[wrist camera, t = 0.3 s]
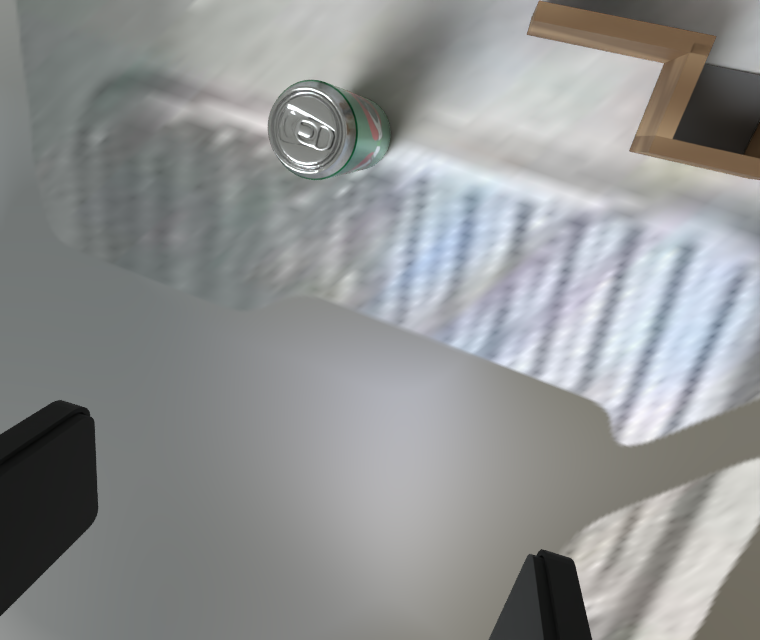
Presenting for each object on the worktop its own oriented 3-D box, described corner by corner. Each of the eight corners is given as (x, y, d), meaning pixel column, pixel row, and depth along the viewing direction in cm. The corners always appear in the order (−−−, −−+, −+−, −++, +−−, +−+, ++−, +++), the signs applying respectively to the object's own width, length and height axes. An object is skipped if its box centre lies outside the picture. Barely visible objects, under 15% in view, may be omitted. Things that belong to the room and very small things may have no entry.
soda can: (337, 88, 35) (272, 63, 24) (401, 110, 34) (365, 96, 23) (319, 156, 37) (251, 162, 26) (379, 178, 36) (337, 194, 25)
